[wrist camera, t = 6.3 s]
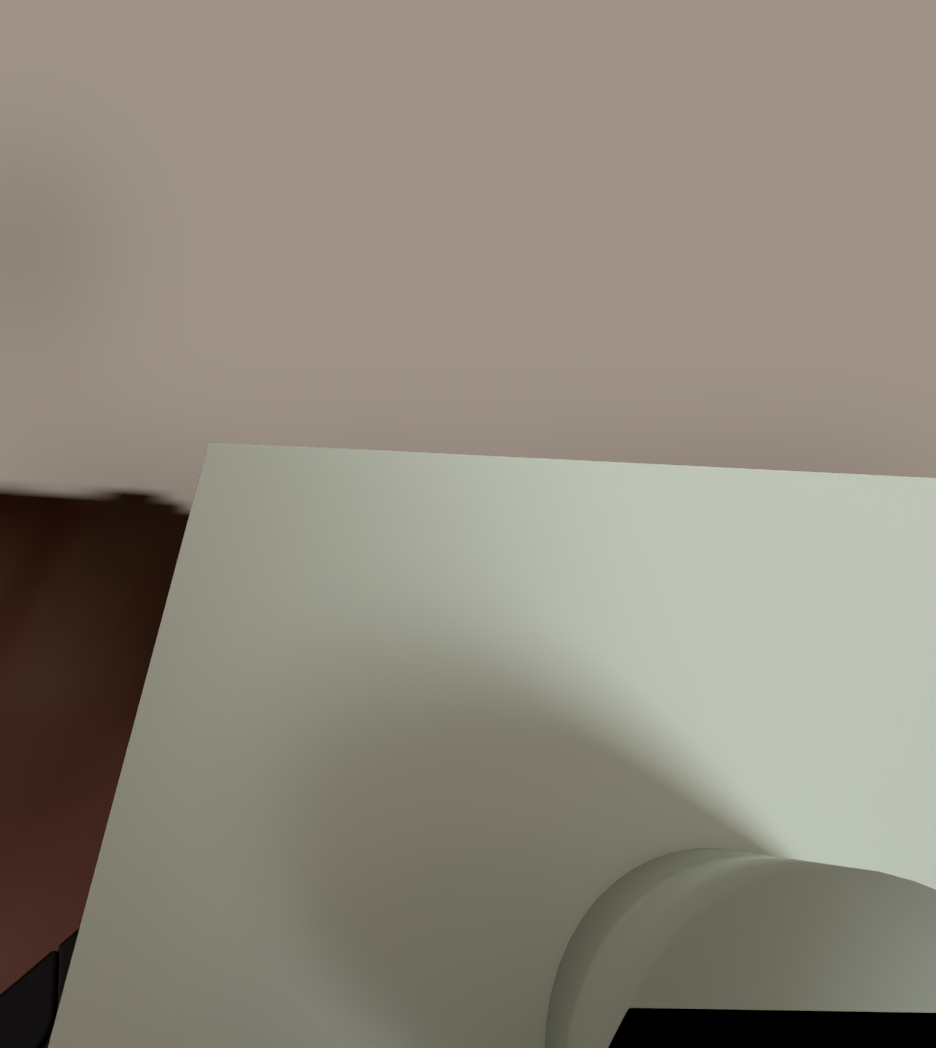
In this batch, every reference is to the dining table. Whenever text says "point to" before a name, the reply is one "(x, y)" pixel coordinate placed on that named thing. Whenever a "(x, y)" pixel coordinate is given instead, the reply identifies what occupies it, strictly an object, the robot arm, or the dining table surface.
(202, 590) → the cover
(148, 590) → the dining table surface
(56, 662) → the dining table surface
